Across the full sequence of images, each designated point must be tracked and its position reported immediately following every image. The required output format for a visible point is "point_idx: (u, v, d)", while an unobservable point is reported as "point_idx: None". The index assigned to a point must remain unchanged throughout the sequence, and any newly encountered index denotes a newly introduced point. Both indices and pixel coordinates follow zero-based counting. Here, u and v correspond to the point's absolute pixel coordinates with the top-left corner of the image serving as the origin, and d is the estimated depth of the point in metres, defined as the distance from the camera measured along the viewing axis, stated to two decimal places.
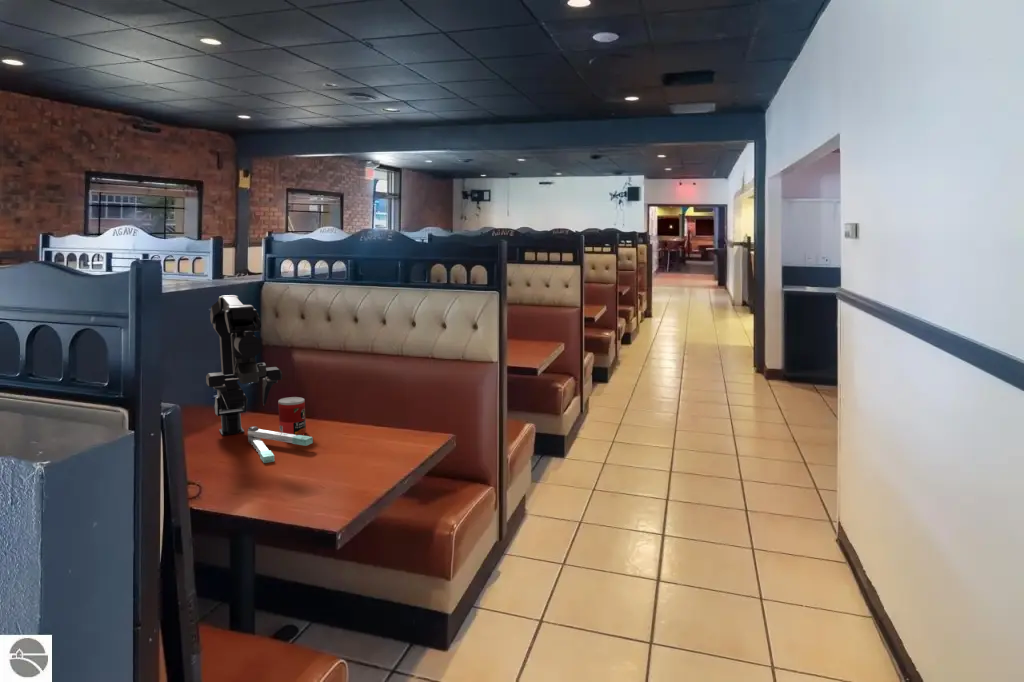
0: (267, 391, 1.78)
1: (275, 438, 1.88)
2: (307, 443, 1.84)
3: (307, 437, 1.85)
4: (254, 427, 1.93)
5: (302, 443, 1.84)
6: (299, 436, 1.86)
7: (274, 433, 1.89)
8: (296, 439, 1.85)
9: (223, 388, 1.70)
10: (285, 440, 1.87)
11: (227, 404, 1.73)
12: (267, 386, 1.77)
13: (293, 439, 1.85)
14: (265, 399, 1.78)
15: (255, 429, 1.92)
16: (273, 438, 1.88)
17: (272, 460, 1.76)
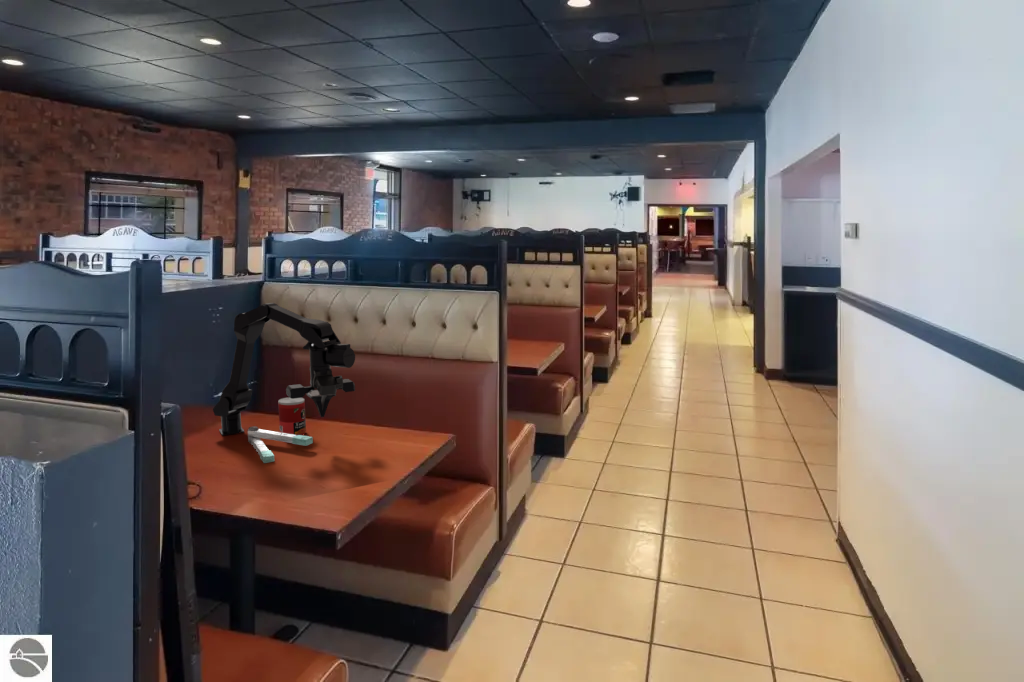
0: (326, 404, 1.88)
1: (275, 438, 1.88)
2: (307, 443, 1.84)
3: (307, 437, 1.85)
4: (254, 427, 1.93)
5: (302, 443, 1.84)
6: (299, 436, 1.86)
7: (274, 433, 1.89)
8: (296, 439, 1.85)
9: (318, 397, 1.85)
10: (285, 440, 1.87)
11: (321, 412, 1.88)
12: (326, 399, 1.87)
13: (293, 439, 1.85)
14: (324, 411, 1.88)
15: (255, 429, 1.92)
16: (273, 438, 1.88)
17: (272, 460, 1.76)
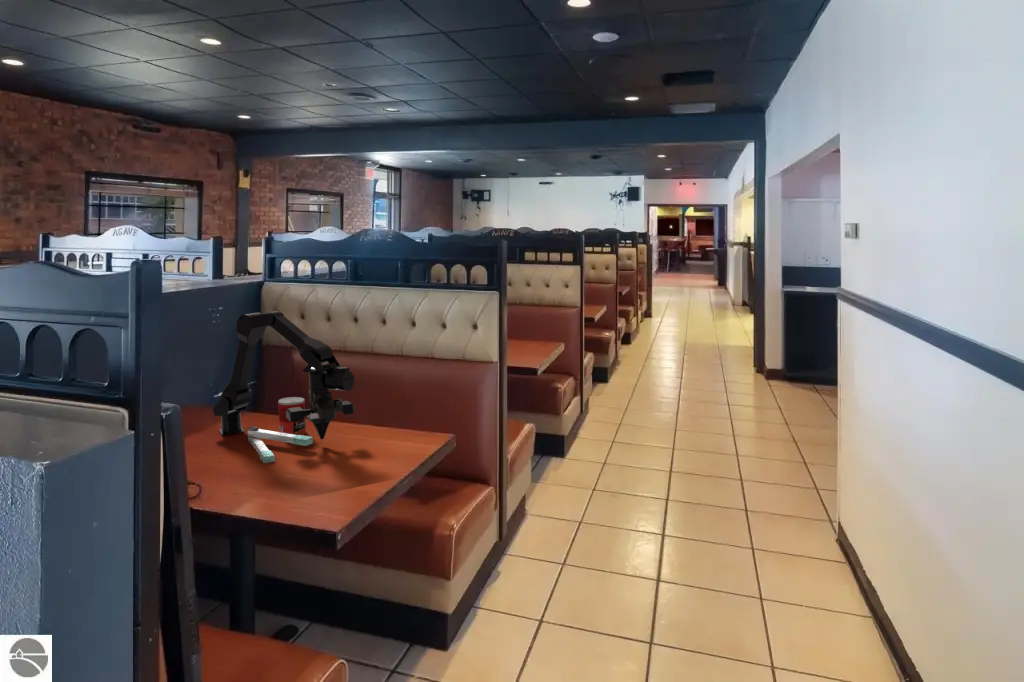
0: (326, 426, 1.89)
1: (275, 438, 1.88)
2: (307, 443, 1.84)
3: (307, 437, 1.85)
4: (254, 427, 1.93)
5: (302, 443, 1.84)
6: (299, 436, 1.86)
7: (274, 433, 1.89)
8: (296, 439, 1.85)
9: (318, 420, 1.86)
10: (285, 440, 1.87)
11: (320, 434, 1.89)
12: (326, 421, 1.88)
13: (293, 439, 1.85)
14: (324, 434, 1.89)
15: (255, 429, 1.92)
16: (273, 438, 1.88)
17: (272, 460, 1.76)
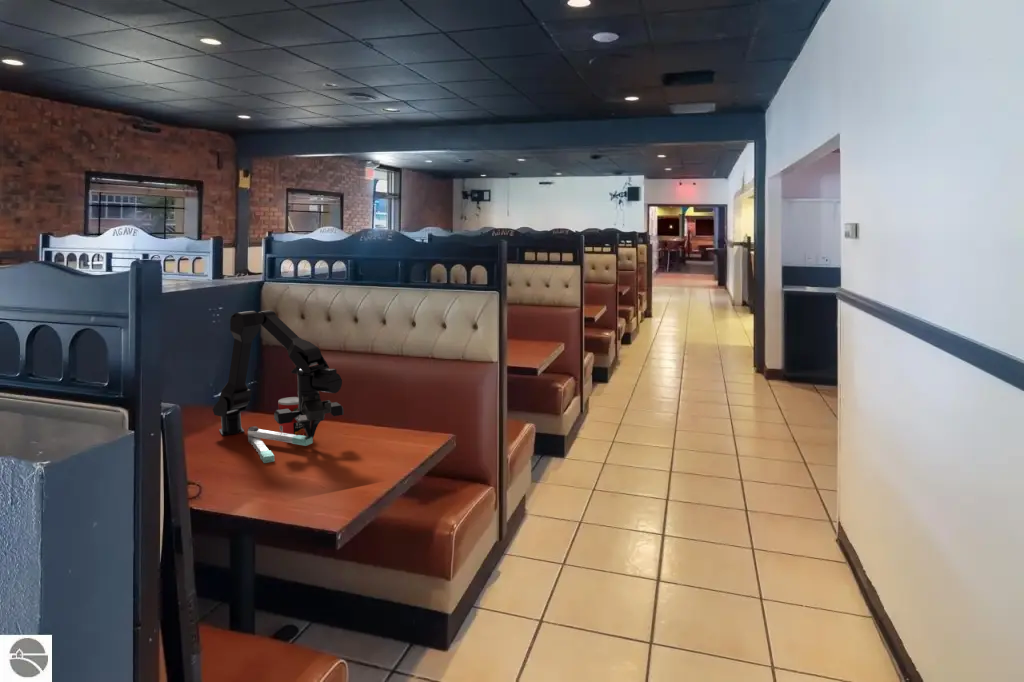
0: (314, 428, 1.87)
1: (275, 438, 1.88)
2: (307, 443, 1.84)
3: (307, 437, 1.85)
4: (254, 427, 1.93)
5: (302, 443, 1.84)
6: (299, 436, 1.86)
7: (274, 433, 1.89)
8: (296, 439, 1.85)
9: (307, 422, 1.84)
10: (285, 440, 1.87)
11: (309, 436, 1.87)
12: (314, 423, 1.86)
13: (293, 439, 1.85)
14: (312, 435, 1.88)
15: (255, 429, 1.92)
16: (273, 438, 1.88)
17: (272, 460, 1.76)
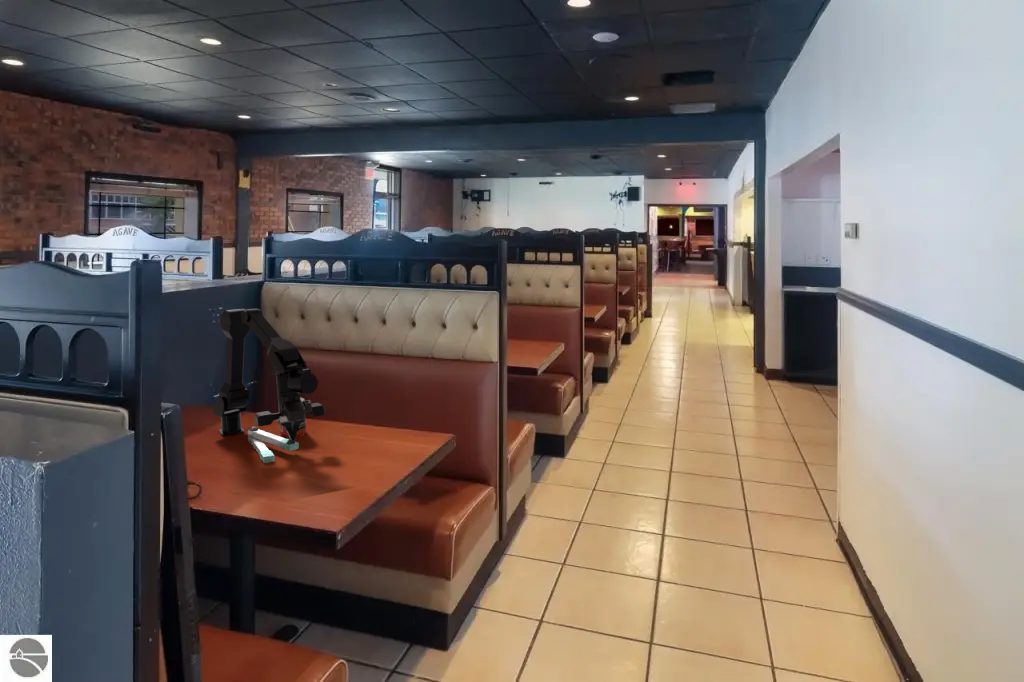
0: (295, 429, 1.83)
1: (267, 440, 1.86)
2: (291, 448, 1.79)
3: (293, 442, 1.81)
4: (254, 427, 1.93)
5: (287, 448, 1.80)
6: (287, 440, 1.82)
7: (268, 435, 1.87)
8: (282, 443, 1.81)
9: (288, 423, 1.81)
10: (275, 443, 1.84)
11: (292, 438, 1.84)
12: (295, 425, 1.83)
13: (280, 443, 1.82)
14: (294, 437, 1.84)
15: (254, 429, 1.91)
16: (266, 440, 1.87)
17: (272, 460, 1.76)
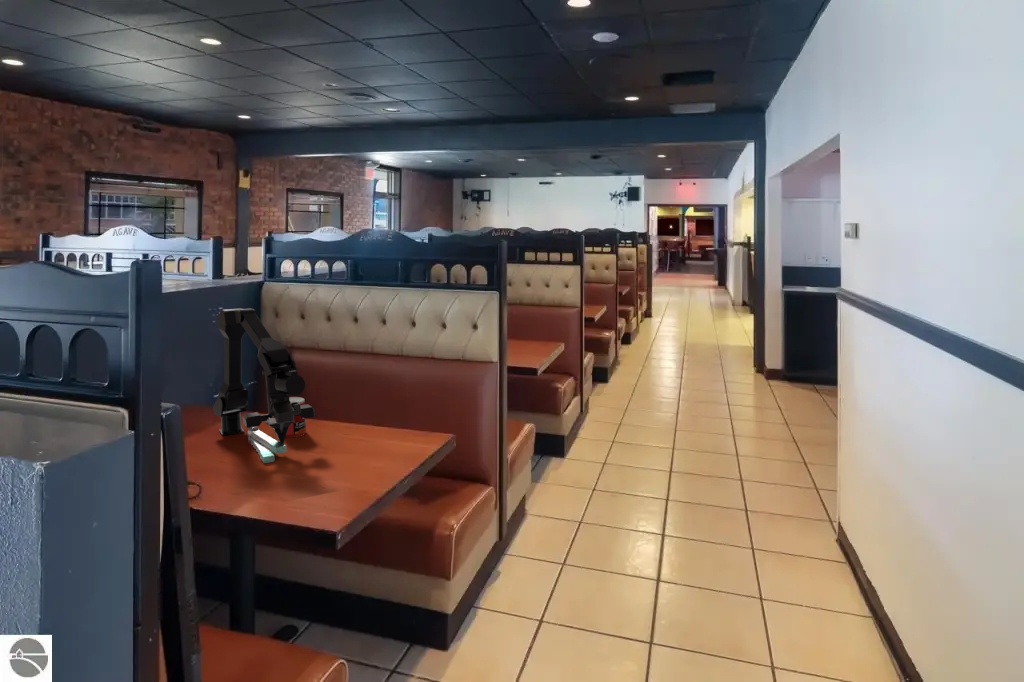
0: (285, 431, 1.82)
1: (261, 441, 1.85)
2: (278, 451, 1.77)
3: (281, 445, 1.78)
4: (254, 427, 1.93)
5: (274, 451, 1.77)
6: (276, 443, 1.80)
7: (262, 436, 1.86)
8: (271, 446, 1.79)
9: (277, 425, 1.79)
10: (266, 445, 1.82)
11: (280, 440, 1.82)
12: (285, 426, 1.81)
13: (269, 445, 1.80)
14: (283, 439, 1.82)
15: (253, 429, 1.91)
16: (260, 441, 1.86)
17: (272, 460, 1.76)
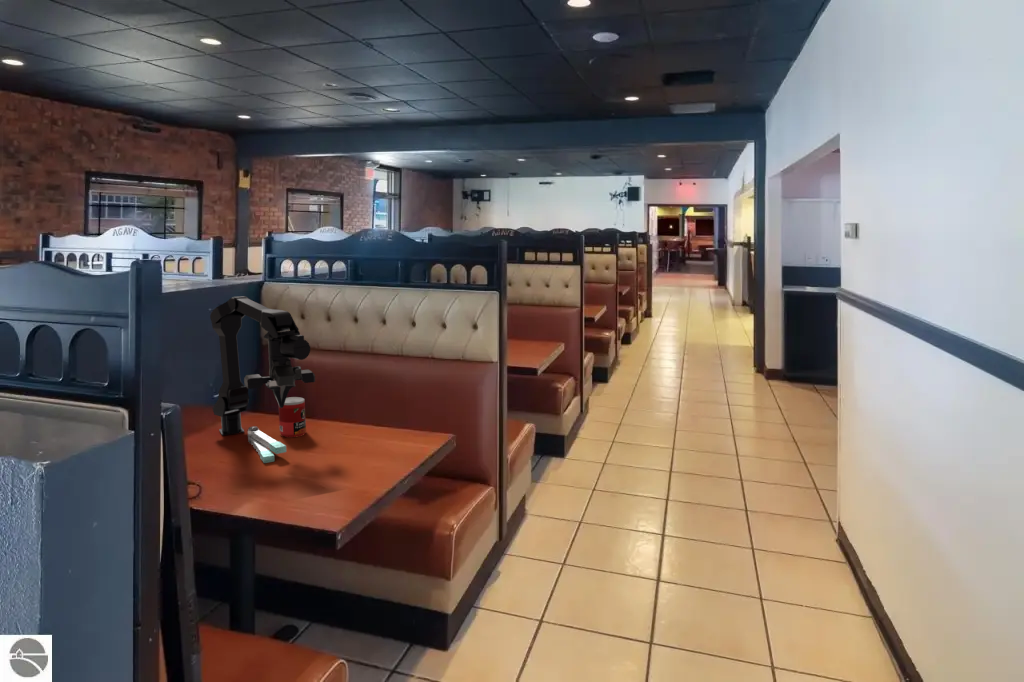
0: (285, 394, 1.86)
1: (261, 441, 1.85)
2: (278, 451, 1.77)
3: (281, 445, 1.78)
4: (254, 427, 1.93)
5: (274, 451, 1.77)
6: (276, 443, 1.80)
7: (262, 436, 1.86)
8: (271, 446, 1.79)
9: (277, 388, 1.83)
10: (266, 445, 1.82)
11: (279, 403, 1.86)
12: (285, 390, 1.85)
13: (269, 445, 1.80)
14: (283, 402, 1.86)
15: (253, 429, 1.91)
16: (260, 441, 1.86)
17: (272, 460, 1.76)
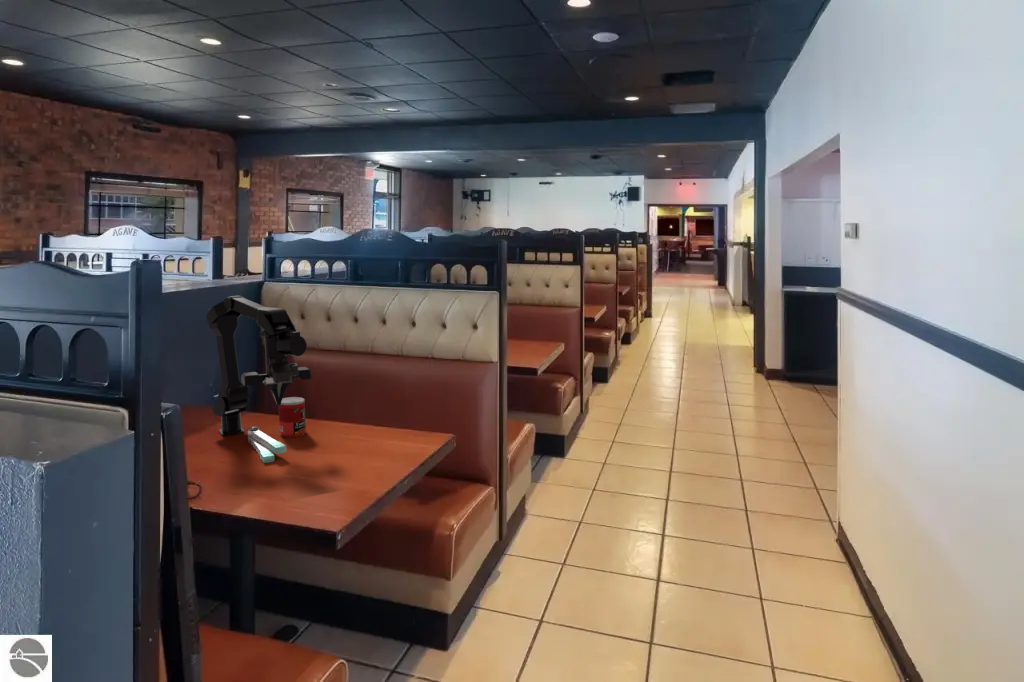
0: (282, 391, 1.87)
1: (261, 441, 1.85)
2: (278, 451, 1.77)
3: (281, 445, 1.78)
4: (254, 427, 1.93)
5: (274, 451, 1.77)
6: (276, 443, 1.80)
7: (262, 436, 1.86)
8: (271, 446, 1.79)
9: (274, 385, 1.84)
10: (266, 445, 1.82)
11: (277, 400, 1.86)
12: (282, 387, 1.86)
13: (269, 445, 1.80)
14: (280, 399, 1.87)
15: (253, 429, 1.91)
16: (260, 441, 1.86)
17: (272, 460, 1.76)
